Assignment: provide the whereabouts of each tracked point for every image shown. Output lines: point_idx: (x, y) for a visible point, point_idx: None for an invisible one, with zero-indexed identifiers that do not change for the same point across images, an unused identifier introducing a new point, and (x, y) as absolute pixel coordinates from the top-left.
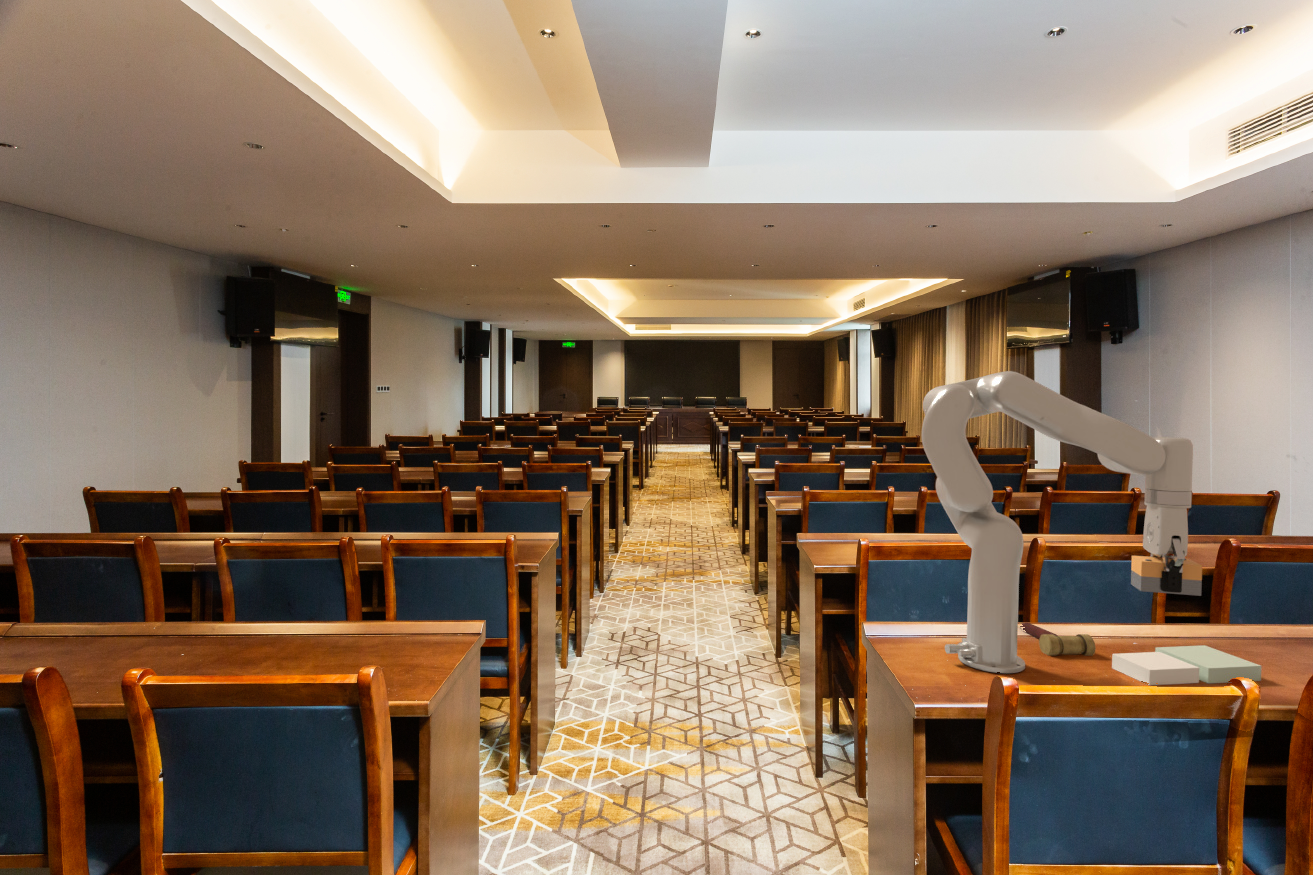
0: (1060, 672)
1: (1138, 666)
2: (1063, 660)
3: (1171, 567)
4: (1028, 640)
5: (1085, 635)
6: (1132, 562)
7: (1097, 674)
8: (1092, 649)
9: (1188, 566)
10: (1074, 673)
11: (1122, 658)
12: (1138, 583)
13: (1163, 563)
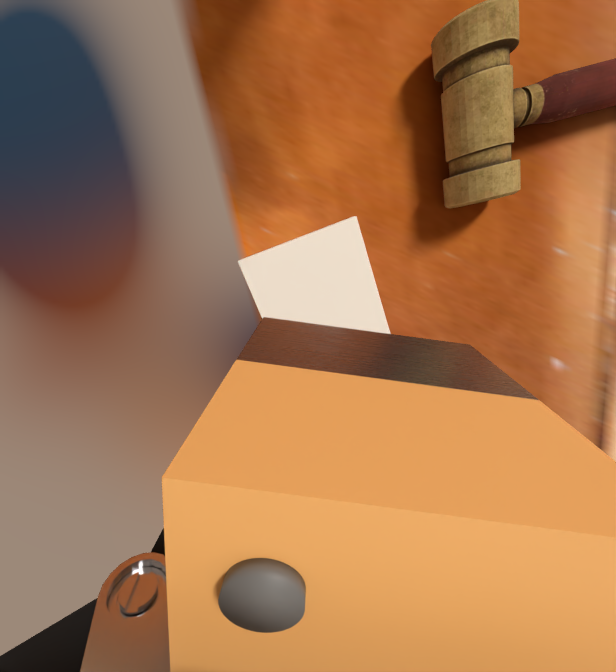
0: (281, 30)
1: (270, 248)
2: (395, 87)
3: (28, 639)
4: (598, 25)
5: (491, 180)
6: (574, 455)
7: (292, 152)
8: (445, 197)
9: None
10: (283, 79)
11: (320, 229)
12: (314, 338)
13: (164, 658)
